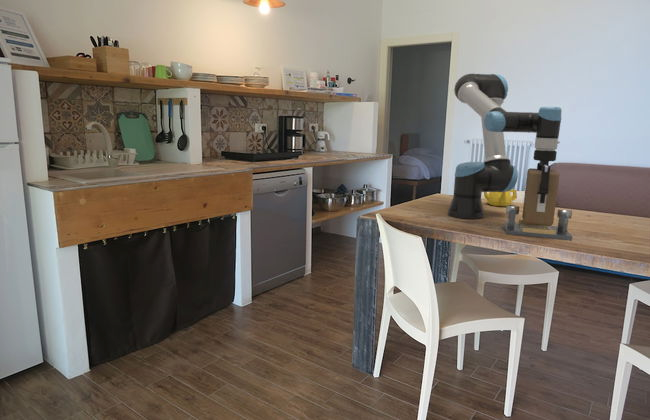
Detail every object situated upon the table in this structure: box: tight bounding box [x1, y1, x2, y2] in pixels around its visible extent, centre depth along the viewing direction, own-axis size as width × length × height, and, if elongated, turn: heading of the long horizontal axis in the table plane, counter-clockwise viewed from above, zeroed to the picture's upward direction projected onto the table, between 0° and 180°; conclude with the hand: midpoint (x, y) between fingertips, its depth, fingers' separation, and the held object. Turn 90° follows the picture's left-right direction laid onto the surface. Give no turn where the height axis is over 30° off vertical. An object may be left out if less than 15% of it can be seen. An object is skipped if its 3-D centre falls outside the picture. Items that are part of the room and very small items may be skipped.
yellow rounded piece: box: [483, 188, 518, 207], centre depth 228 cm, size 14×13×10 cm
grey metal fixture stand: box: [503, 205, 573, 241], centre depth 174 cm, size 22×15×10 cm
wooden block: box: [521, 168, 560, 226], centre depth 172 cm, size 10×10×20 cm
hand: (538, 208), depth 173 cm, fingers closed on wooden block, 10 cm apart
